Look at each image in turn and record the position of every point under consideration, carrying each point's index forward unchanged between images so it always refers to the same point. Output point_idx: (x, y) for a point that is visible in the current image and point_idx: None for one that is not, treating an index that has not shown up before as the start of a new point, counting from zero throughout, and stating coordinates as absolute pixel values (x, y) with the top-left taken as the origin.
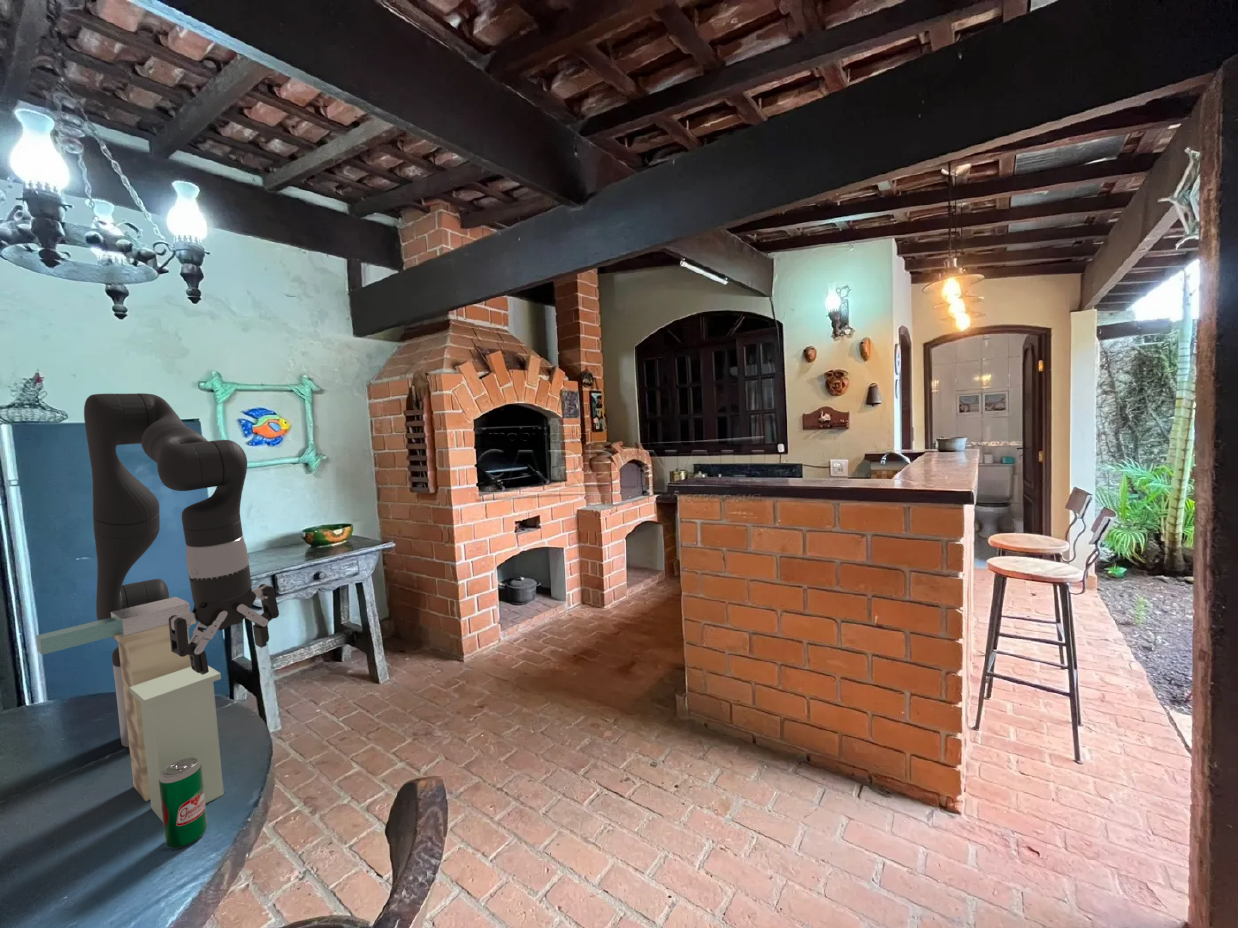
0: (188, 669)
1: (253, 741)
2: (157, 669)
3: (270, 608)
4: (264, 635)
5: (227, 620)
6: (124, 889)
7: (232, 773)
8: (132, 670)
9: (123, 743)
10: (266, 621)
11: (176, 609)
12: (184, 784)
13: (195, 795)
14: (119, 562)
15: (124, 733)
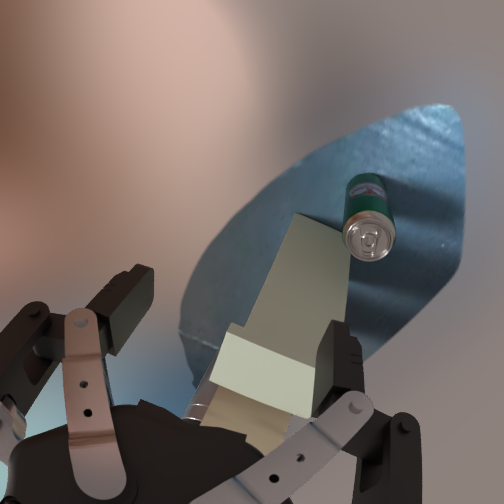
0: (235, 386)
1: (209, 259)
2: (256, 417)
3: (21, 346)
4: (118, 288)
5: (195, 459)
6: (435, 194)
7: (261, 234)
8: (283, 438)
9: None
10: (72, 319)
11: None
12: (384, 209)
13: (370, 194)
14: None
15: None
